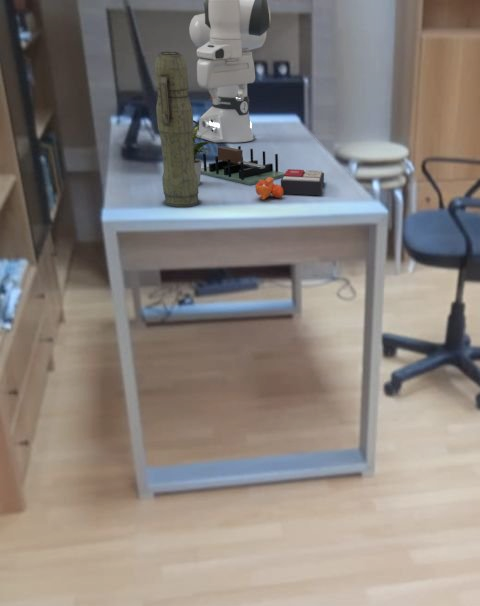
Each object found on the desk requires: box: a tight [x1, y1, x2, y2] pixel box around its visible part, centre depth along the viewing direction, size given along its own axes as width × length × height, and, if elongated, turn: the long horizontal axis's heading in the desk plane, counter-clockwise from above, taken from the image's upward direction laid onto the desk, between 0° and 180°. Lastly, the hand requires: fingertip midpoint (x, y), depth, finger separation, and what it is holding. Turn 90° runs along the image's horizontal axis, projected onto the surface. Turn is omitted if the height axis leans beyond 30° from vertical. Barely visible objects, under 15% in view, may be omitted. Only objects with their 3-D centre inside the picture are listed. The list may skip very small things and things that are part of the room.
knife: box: [217, 145, 265, 169], centre depth 230 cm, size 17×2×4 cm, turn 54°
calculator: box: [280, 168, 325, 196], centre depth 220 cm, size 11×4×15 cm
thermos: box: [154, 51, 200, 208], centre depth 194 cm, size 9×12×35 cm
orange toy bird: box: [254, 177, 284, 201], centre depth 210 cm, size 5×8×12 cm
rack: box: [200, 145, 286, 186], centre depth 231 cm, size 22×16×6 cm
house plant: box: [192, 126, 214, 186], centre depth 215 cm, size 14×14×16 cm
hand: (228, 102), depth 227 cm, fingers open, 8 cm apart
